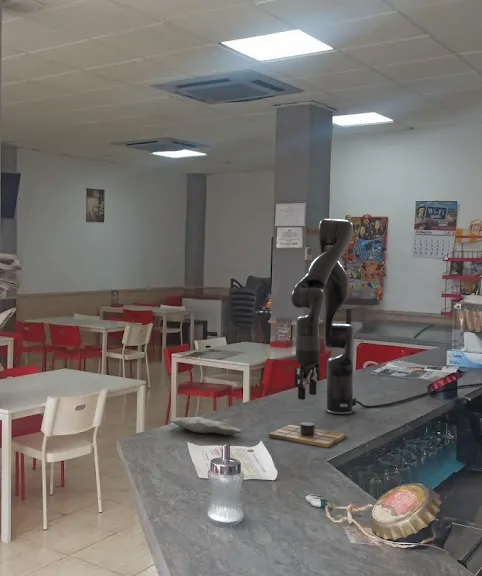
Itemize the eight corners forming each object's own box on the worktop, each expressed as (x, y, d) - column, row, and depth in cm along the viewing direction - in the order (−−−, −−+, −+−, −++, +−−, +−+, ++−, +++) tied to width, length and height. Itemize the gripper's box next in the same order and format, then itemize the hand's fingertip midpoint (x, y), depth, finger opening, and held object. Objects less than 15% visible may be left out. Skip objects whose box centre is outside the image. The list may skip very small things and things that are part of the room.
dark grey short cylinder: (303, 430, 238) (303, 421, 238) (316, 433, 235) (317, 423, 235) (297, 433, 234) (297, 424, 234) (311, 436, 231) (311, 426, 231)
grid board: (289, 427, 247) (289, 424, 247) (345, 437, 234) (345, 433, 234) (268, 437, 235) (268, 433, 235) (327, 447, 223) (327, 443, 223)
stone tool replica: (163, 427, 242) (230, 438, 228) (165, 412, 243) (232, 422, 228) (184, 429, 254) (249, 439, 240) (186, 414, 255) (251, 424, 241)
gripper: (309, 352, 226) (309, 402, 227) (327, 346, 237) (327, 394, 238) (287, 349, 230) (287, 399, 232) (305, 344, 241) (305, 391, 243)
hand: (307, 396), depth 235 cm, fingers open, 8 cm apart
